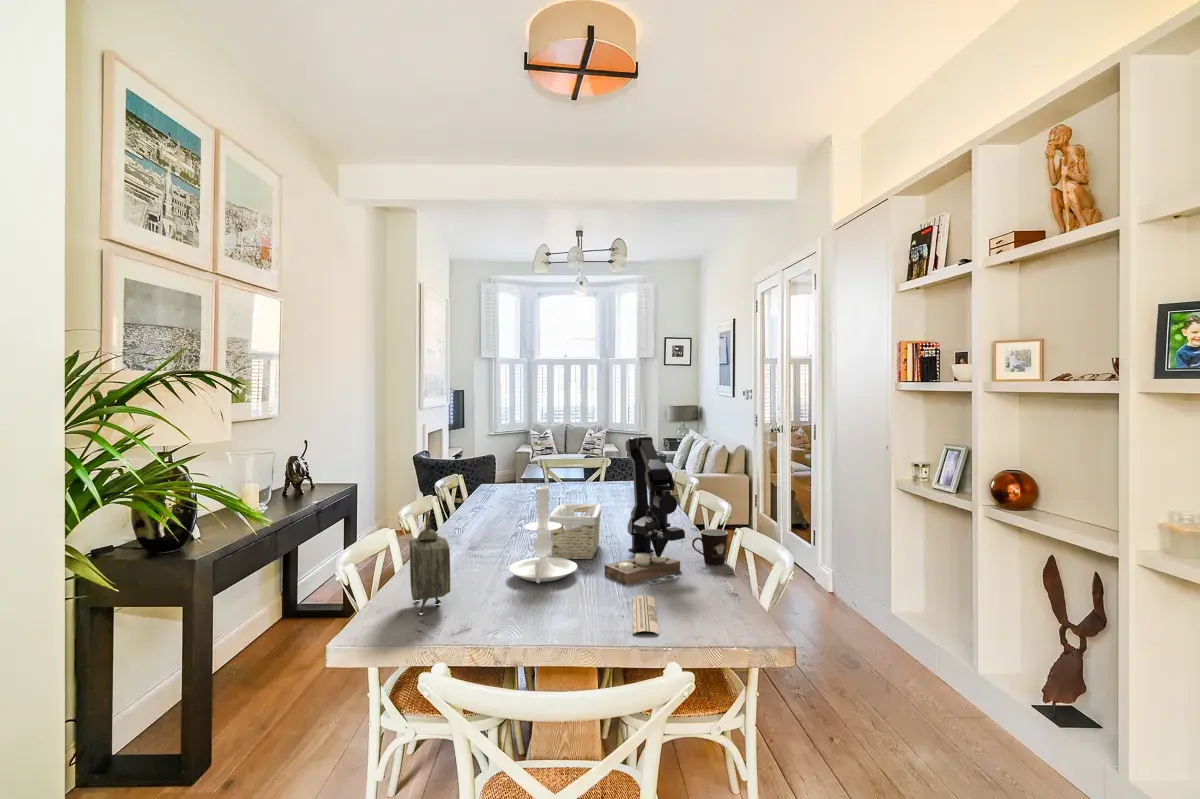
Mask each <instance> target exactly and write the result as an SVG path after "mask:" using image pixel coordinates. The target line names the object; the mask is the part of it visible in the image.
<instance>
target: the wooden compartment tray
mask: <svg viewBox="0 0 1200 799" xmlns="http://www.w3.org/2000/svg"><path fill="white" fill-rule="evenodd" d="M649 555H650V565H646V566H642V567H641V566H638V565H636V564H635V557H634V558H629V559H625V560H620V561H616V562H613V563H612V562H611V563H608V564H607V563H606V564H604V576H607V577H610V578H612V579H614V580H615V581H619V582H620V583H624V584H625V585H629V584H632V583H637V582H641V581H644V580H645V581H646V580H650V579H654V578H658V577H662V576H666V575H670V574H672V573H675V572H680V571H681V561H680V560H677V559H674V558H672V557H668V556H666V561H664V562H659V563H657V562H654V561H652V556H653V555H656V554H655V553H652V554H649ZM623 562H628V563H632V564H633V569H629V570H625V571H624V570H621V569H619V564H620V563H623Z"/></svg>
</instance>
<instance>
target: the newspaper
mask: <svg viewBox="0 0 1200 799" xmlns="http://www.w3.org/2000/svg"><path fill="white" fill-rule="evenodd" d="M631 606H632V611H631V612H632V634H633V635H634V636H635V635H636V633H641V632H651V633H655V635H656V636H660V635H659V634H660V633H659V625H658V617H657V609H656V600H655V597H653V596H650V595H645V594H644V595H636V596H632V605H631Z"/></svg>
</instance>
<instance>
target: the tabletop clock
mask: <svg viewBox="0 0 1200 799" xmlns="http://www.w3.org/2000/svg"><path fill="white" fill-rule="evenodd" d="M430 517H431V516H430V513H429V512H428V511H426V512H425V529H423V530H421V532H419V533H418V536H417V537H415V538H409V573H410V574H409V575H410V577H409V578H410V592H411V598H412V601H416V600H420V601H422V602H421V606H420V608H419V609H418V611H417V614H418V613H423V612H424V613H425V609H424V607H425V606H426V603H427V601H428V600H429V599H435V601H434V605H435V604H439V603H441V604H442V601H441V600H440V599H439V598H442V597H445V596H446V595H448V594H449V593H450V592H451V555H450V554H451V552H450V551H451V550H450V544H449V543H448V541H447V538H444V537H441V536H440V535H438V533H437V531H435V529H432V528H431V523H430V521H431V520H430V519H431V518H430Z"/></svg>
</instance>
